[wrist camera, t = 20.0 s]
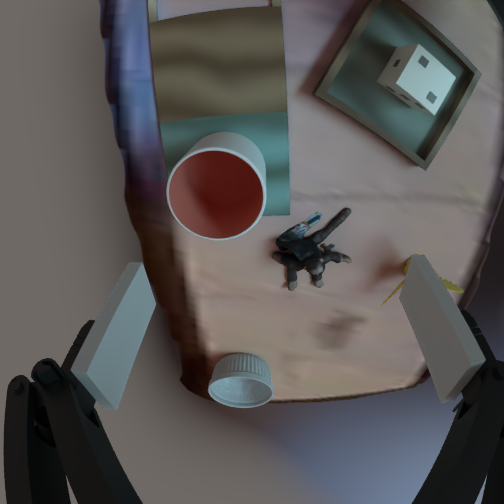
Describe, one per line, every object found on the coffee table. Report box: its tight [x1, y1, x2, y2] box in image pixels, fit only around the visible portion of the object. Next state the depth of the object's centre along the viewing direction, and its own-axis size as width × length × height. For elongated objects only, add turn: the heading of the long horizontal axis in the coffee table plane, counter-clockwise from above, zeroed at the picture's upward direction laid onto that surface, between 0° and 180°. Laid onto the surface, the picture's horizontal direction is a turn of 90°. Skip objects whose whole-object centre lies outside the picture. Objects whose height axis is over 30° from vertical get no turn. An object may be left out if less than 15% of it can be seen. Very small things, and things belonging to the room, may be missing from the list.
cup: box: [166, 132, 267, 240], centre depth 33 cm, size 10×10×10 cm
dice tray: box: [312, 0, 481, 171], centre depth 28 cm, size 18×18×2 cm
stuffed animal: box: [272, 208, 351, 291], centre depth 43 cm, size 12×10×12 cm
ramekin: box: [208, 353, 274, 408], centre depth 58 cm, size 13×13×7 cm
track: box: [148, 0, 290, 216], centre depth 29 cm, size 43×16×1 cm, turn 4°
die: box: [377, 44, 456, 115], centre depth 26 cm, size 6×6×6 cm
